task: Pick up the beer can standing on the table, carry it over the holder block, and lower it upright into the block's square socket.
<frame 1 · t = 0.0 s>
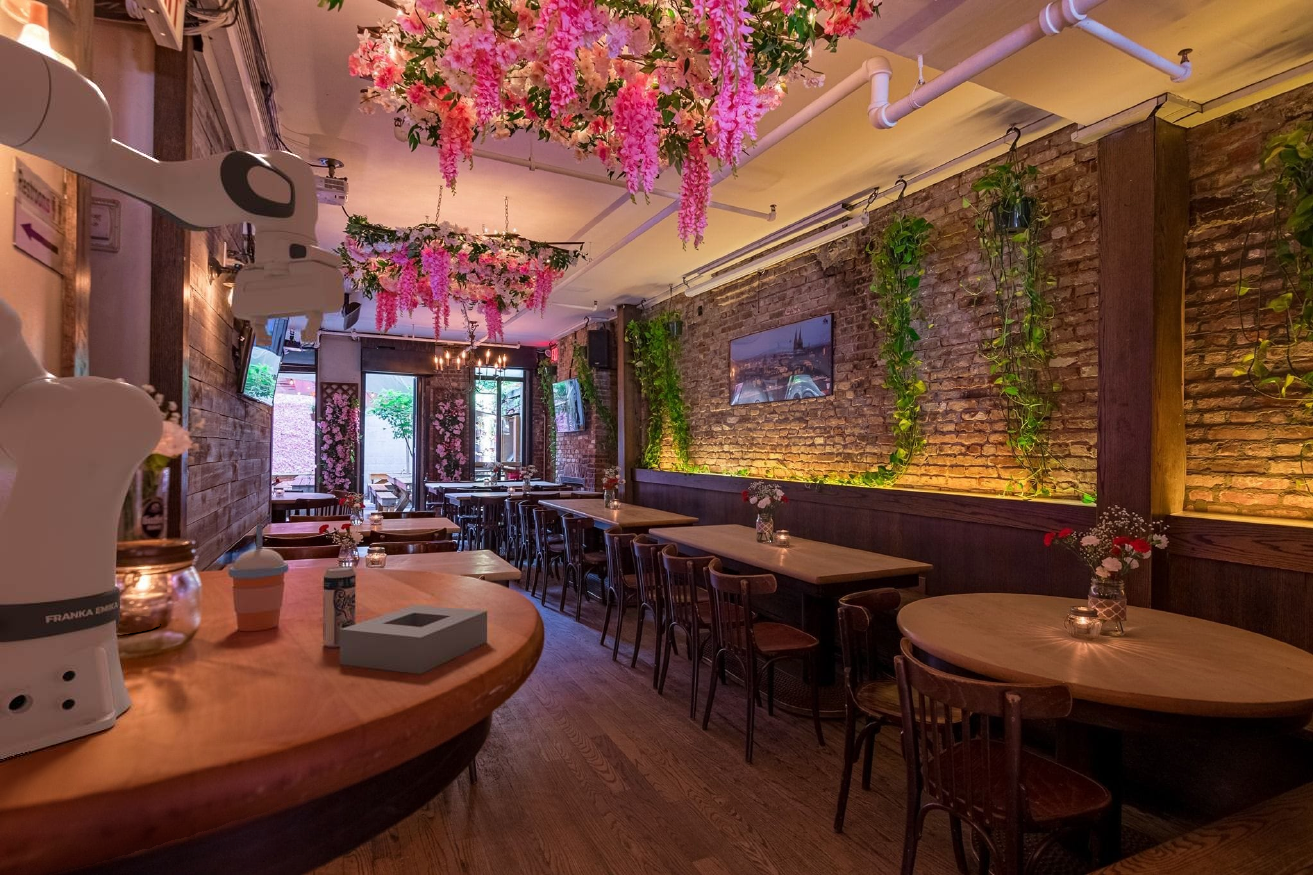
hand: (286, 343, 105), 48 cm above the table, fingers open, 8 cm apart
cup with straw: (258, 628, 115), on the table
holder block: (417, 652, 99), on the table
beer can: (339, 645, 104), on the table
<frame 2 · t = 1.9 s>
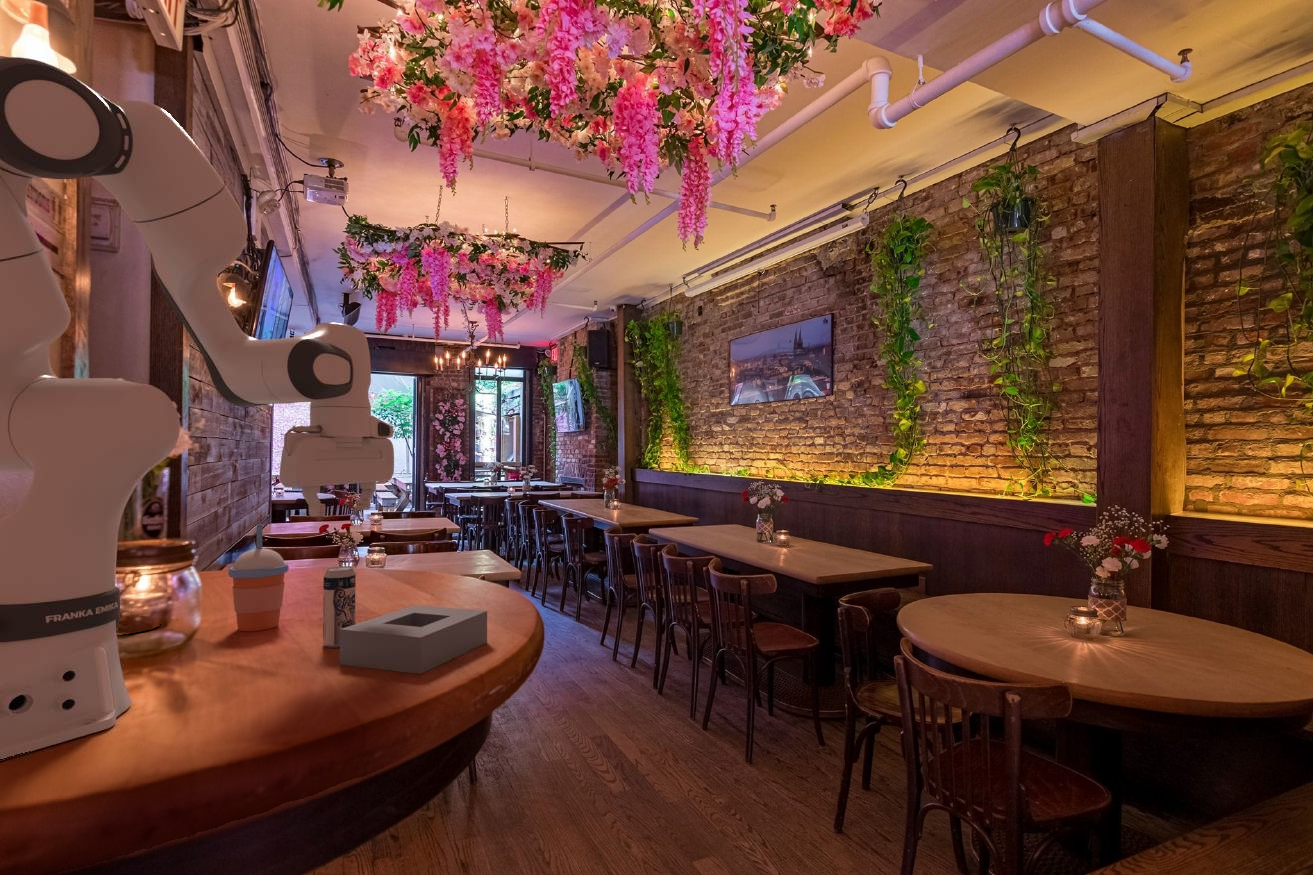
hand: (341, 512, 105), 21 cm above the table, fingers open, 8 cm apart
nothing on the table moved.
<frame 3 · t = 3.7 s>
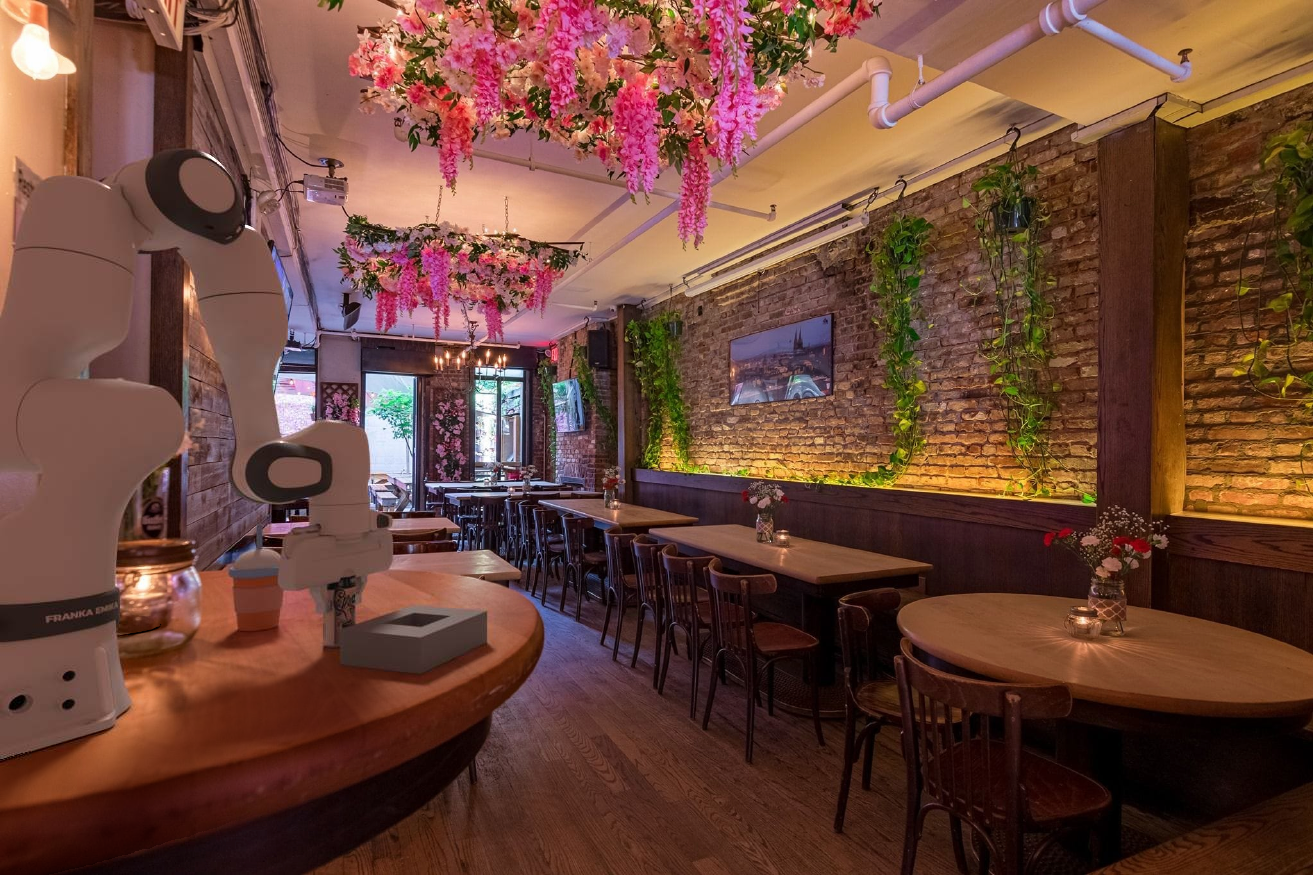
hand: (339, 608, 104), 6 cm above the table, fingers closed on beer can, 5 cm apart
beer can: (339, 645, 104), on the table, touching gripper
everything else where it was.
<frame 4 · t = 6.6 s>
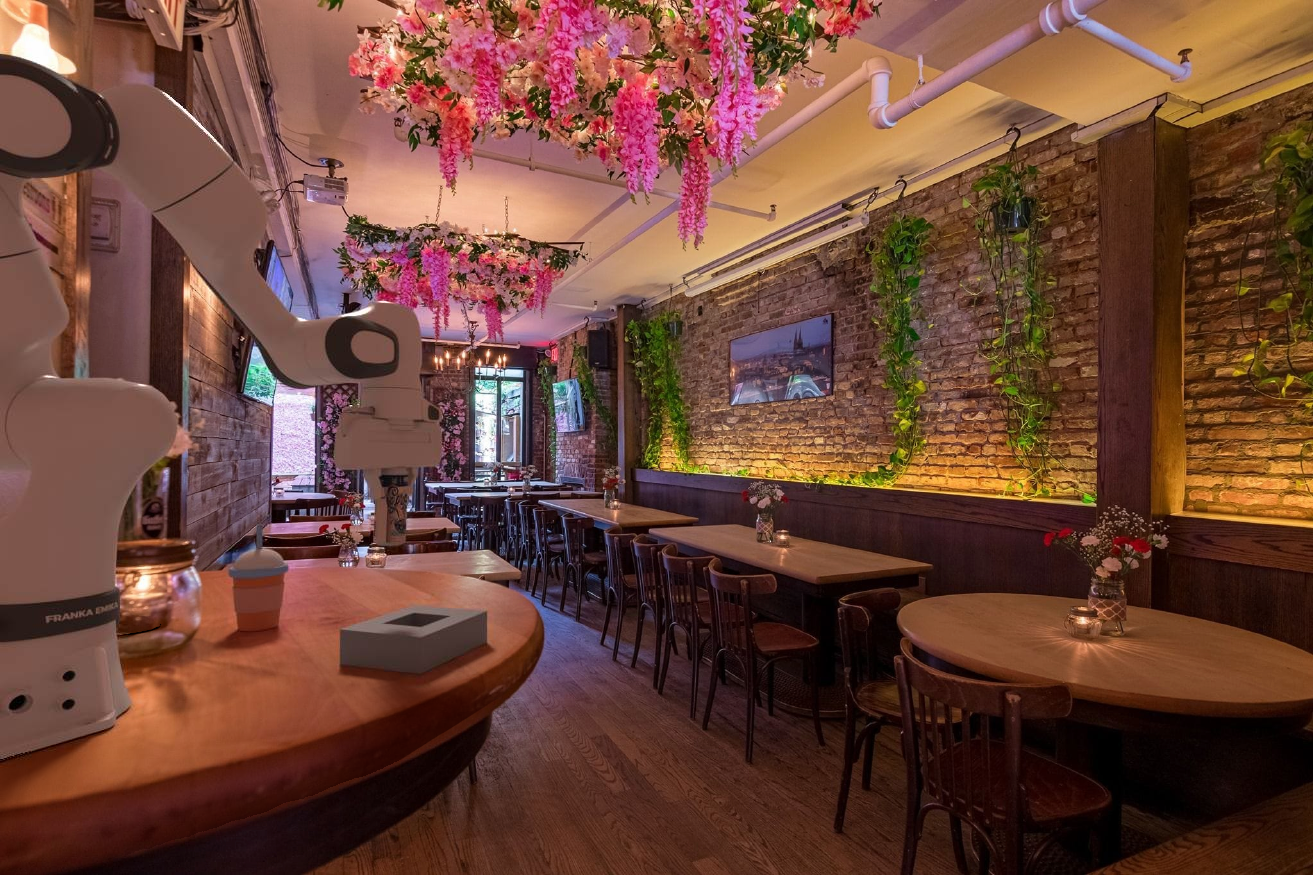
hand: (391, 497, 102), 23 cm above the table, fingers closed on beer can, 5 cm apart
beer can: (389, 545, 102), point 16 cm above the table, touching gripper
everything else where it was.
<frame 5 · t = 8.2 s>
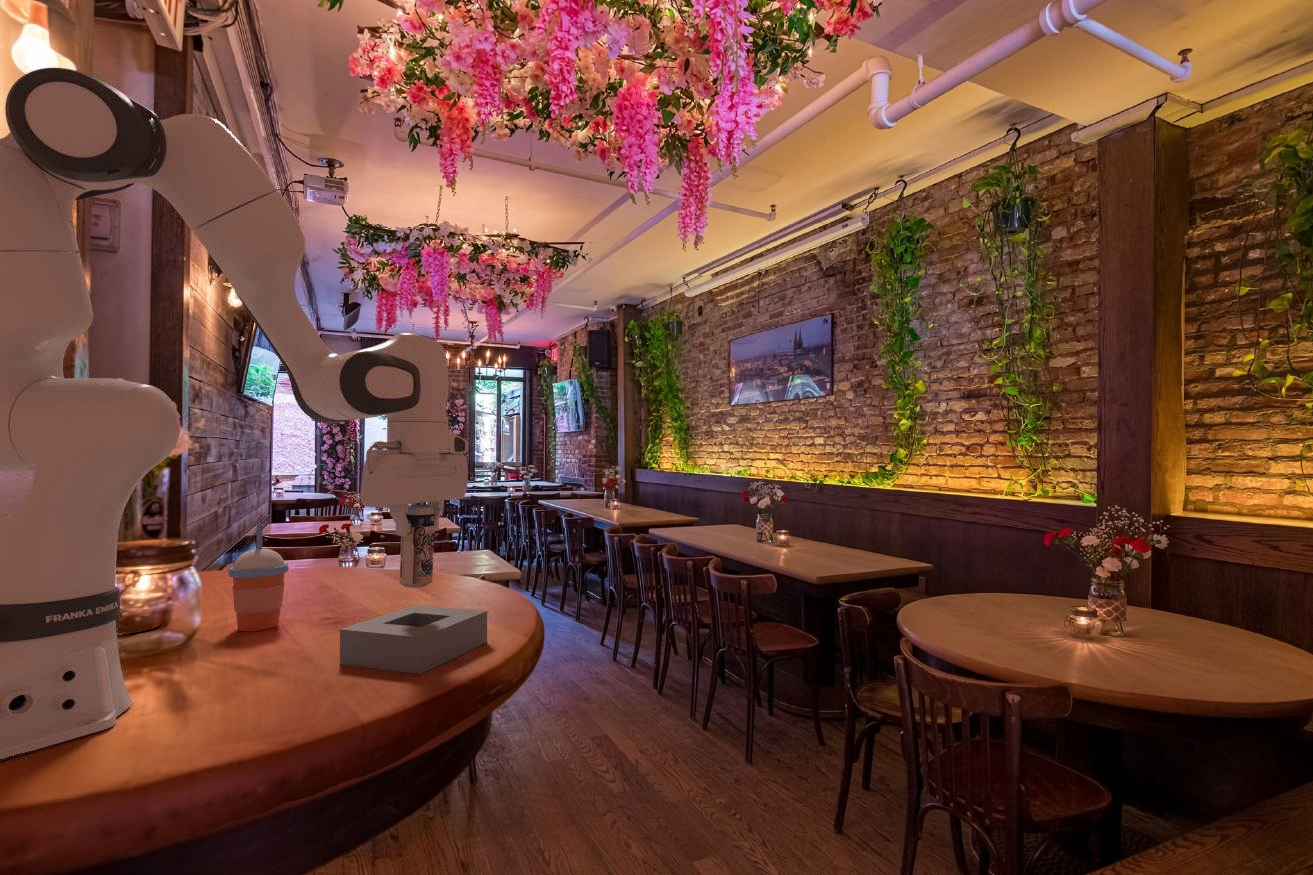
hand: (417, 532, 100), 18 cm above the table, fingers closed on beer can, 5 cm apart
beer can: (415, 586, 100), point 10 cm above the table, touching gripper
everything else where it was.
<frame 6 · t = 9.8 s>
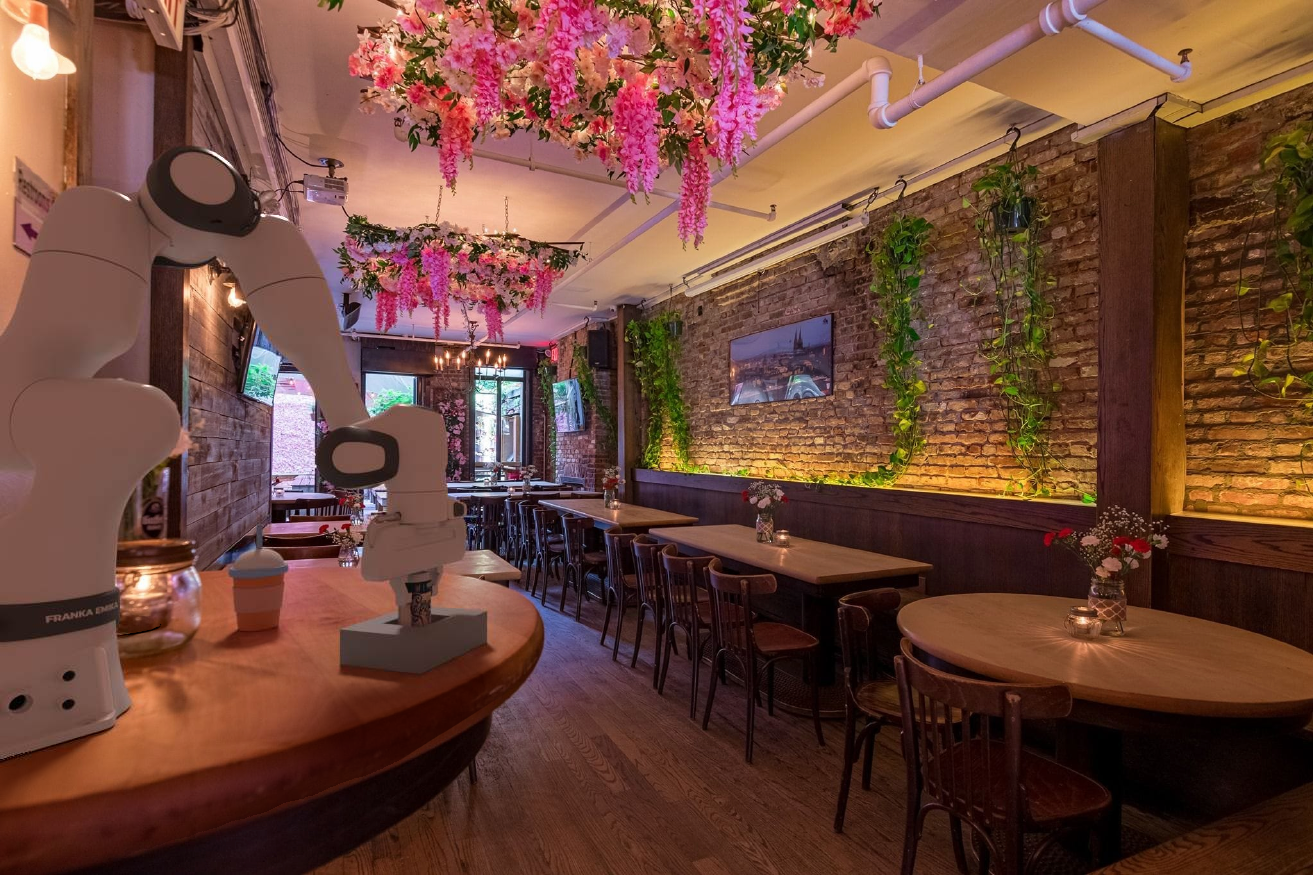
hand: (417, 600, 100), 8 cm above the table, fingers closed on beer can, 5 cm apart
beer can: (414, 652, 100), resting in holder block, touching gripper
everything else where it was.
when the fingers open (7 cm above the table, at t = 10.6 s): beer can stays where it is, resting in holder block.
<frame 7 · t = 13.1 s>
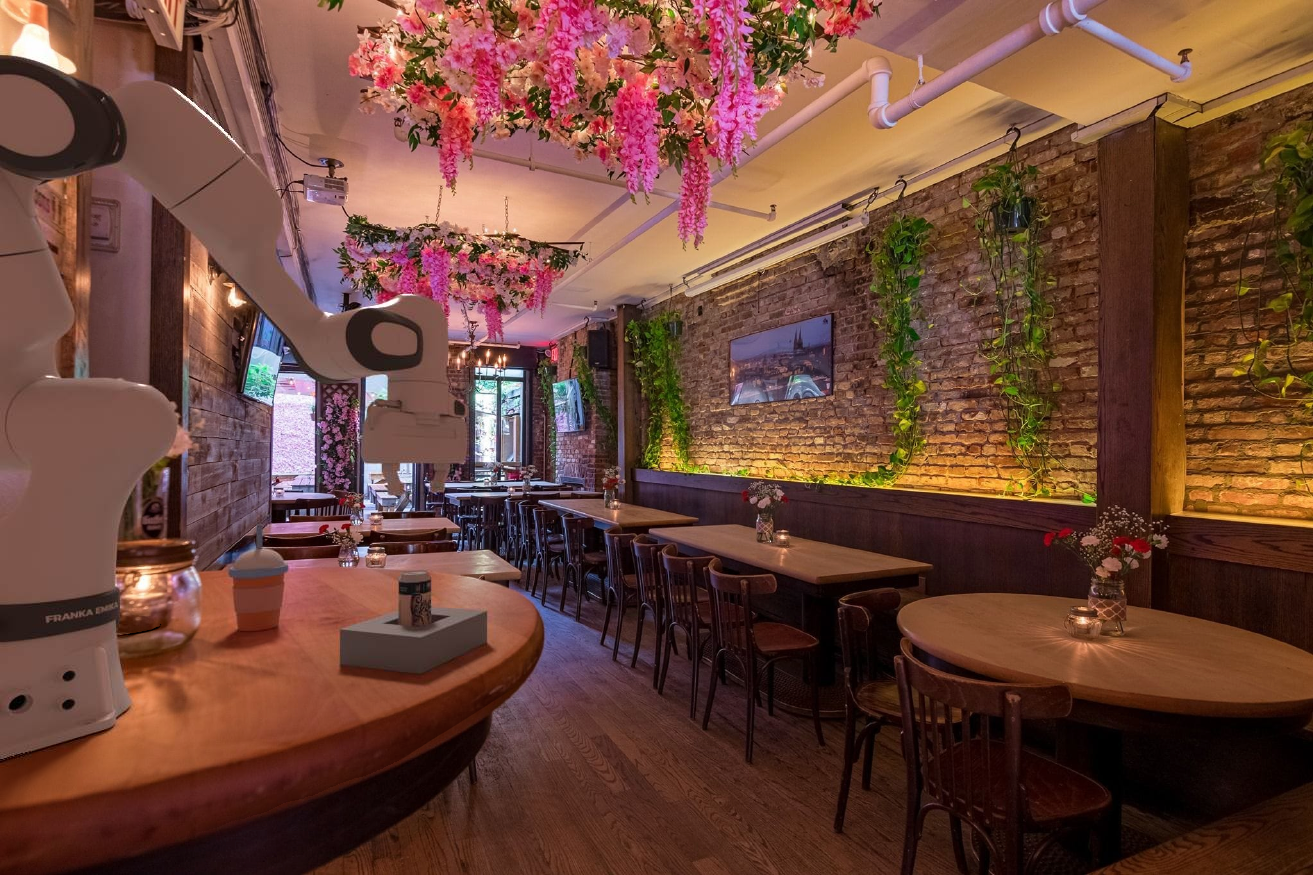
hand: (417, 493, 100), 24 cm above the table, fingers open, 8 cm apart
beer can: (414, 652, 100), resting in holder block
everything else where it was.
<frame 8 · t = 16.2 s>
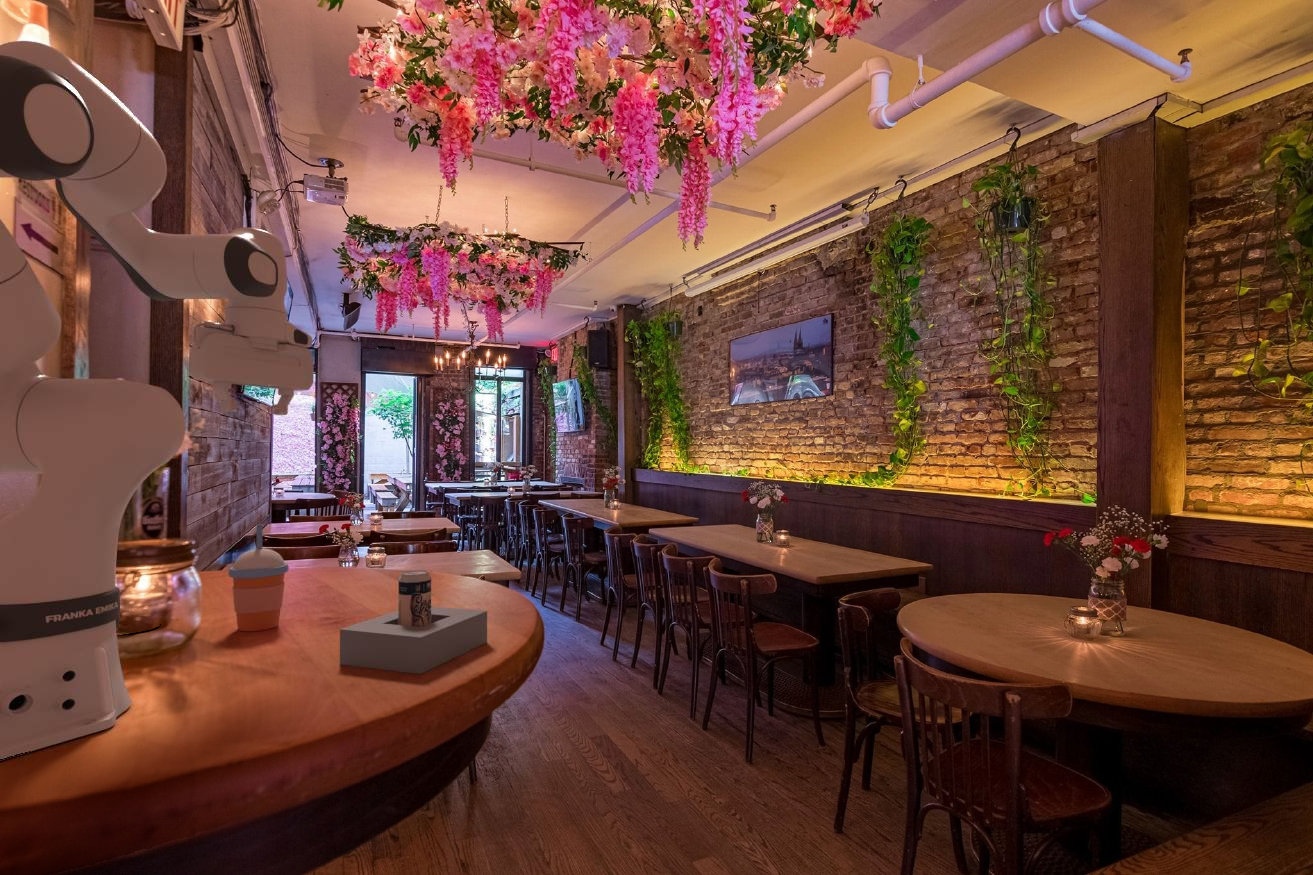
hand: (255, 413, 109), 37 cm above the table, fingers open, 8 cm apart
nothing on the table moved.
at the end: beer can 1.0 cm off-centre on the holder block, point 0.0 cm above the holder block's base; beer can tilted 0°; the gripper is holding nothing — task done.
